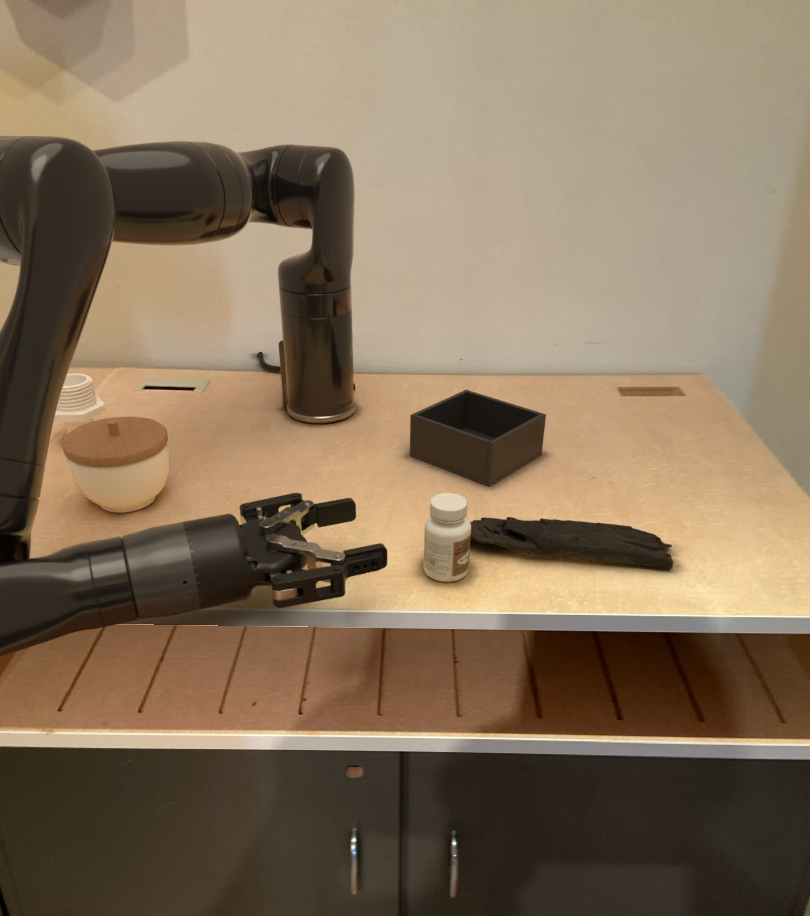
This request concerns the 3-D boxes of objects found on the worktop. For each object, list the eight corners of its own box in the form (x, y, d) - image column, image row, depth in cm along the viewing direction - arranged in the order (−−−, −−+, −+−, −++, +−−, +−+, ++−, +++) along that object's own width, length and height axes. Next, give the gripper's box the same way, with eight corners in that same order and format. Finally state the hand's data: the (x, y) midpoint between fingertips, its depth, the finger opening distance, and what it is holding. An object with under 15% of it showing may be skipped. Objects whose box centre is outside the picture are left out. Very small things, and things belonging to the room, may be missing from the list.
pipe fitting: (63, 455, 98) (48, 394, 93) (51, 435, 103) (36, 376, 98) (115, 444, 100) (103, 384, 96) (100, 424, 106) (88, 367, 101)
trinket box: (85, 532, 82) (65, 451, 77) (70, 489, 90) (51, 412, 85) (187, 509, 87) (175, 431, 82) (164, 470, 95) (152, 396, 90)
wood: (666, 534, 83) (672, 509, 81) (678, 573, 77) (684, 547, 75) (456, 519, 86) (457, 495, 84) (451, 556, 79) (452, 530, 78)
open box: (409, 455, 98) (410, 414, 95) (464, 428, 106) (466, 389, 103) (489, 486, 92) (492, 443, 89) (541, 455, 99) (546, 414, 96)
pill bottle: (465, 586, 75) (469, 515, 71) (419, 580, 76) (421, 510, 71) (471, 561, 78) (475, 492, 74) (427, 555, 79) (429, 487, 75)
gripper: (194, 575, 59) (398, 534, 64) (168, 489, 70) (344, 460, 75) (207, 653, 63) (398, 608, 68) (181, 560, 74) (346, 527, 79)
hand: (369, 530), depth 71 cm, fingers open, 8 cm apart
